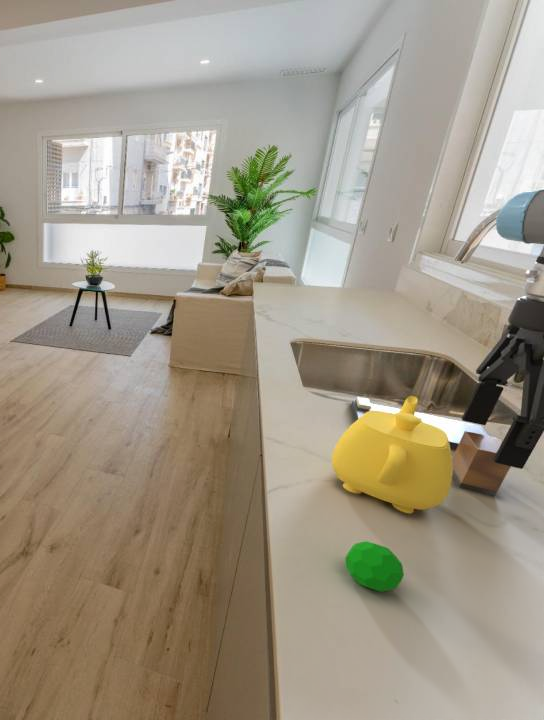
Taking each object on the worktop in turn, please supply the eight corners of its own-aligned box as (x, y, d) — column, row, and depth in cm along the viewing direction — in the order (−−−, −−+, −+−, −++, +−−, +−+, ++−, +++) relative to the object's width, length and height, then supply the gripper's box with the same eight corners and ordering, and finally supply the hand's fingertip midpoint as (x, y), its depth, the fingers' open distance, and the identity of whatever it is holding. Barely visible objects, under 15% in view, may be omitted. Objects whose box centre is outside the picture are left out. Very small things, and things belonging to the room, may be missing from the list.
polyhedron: (333, 560, 50) (345, 529, 49) (378, 567, 50) (393, 536, 48) (353, 596, 46) (367, 563, 44) (404, 605, 45) (420, 572, 43)
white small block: (431, 422, 80) (433, 419, 79) (437, 432, 76) (439, 428, 76) (418, 420, 81) (419, 416, 80) (423, 429, 77) (424, 425, 77)
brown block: (479, 476, 67) (499, 438, 64) (494, 497, 62) (515, 457, 59) (447, 468, 69) (464, 430, 66) (458, 488, 64) (478, 449, 61)
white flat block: (367, 402, 87) (368, 398, 87) (370, 410, 84) (371, 406, 84) (355, 400, 88) (357, 396, 88) (358, 407, 85) (359, 404, 85)
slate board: (477, 432, 80) (480, 425, 79) (500, 461, 71) (504, 453, 70) (350, 405, 89) (352, 399, 88) (356, 428, 80) (359, 421, 79)
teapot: (439, 476, 67) (472, 406, 62) (436, 547, 53) (478, 464, 48) (339, 443, 75) (361, 379, 70) (313, 498, 61) (339, 422, 56)
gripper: (486, 282, 66) (434, 402, 74) (570, 316, 46) (485, 477, 54) (554, 288, 63) (491, 414, 71) (676, 328, 43) (568, 497, 51)
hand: (488, 441), depth 63 cm, fingers open, 13 cm apart
